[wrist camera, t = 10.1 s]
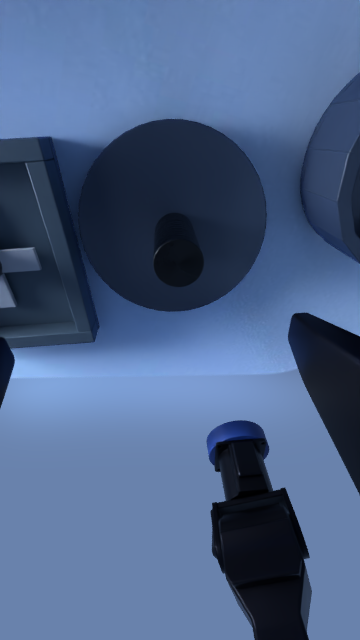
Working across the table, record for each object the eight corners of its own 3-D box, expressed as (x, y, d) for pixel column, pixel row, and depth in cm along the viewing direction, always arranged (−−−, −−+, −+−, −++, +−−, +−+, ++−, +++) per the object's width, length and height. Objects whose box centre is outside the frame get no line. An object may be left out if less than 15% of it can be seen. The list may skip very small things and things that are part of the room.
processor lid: (252, 298, 21) (281, 349, 16) (102, 309, 21) (84, 364, 16) (272, 113, 15) (329, 103, 10) (59, 125, 15) (7, 121, 10)
